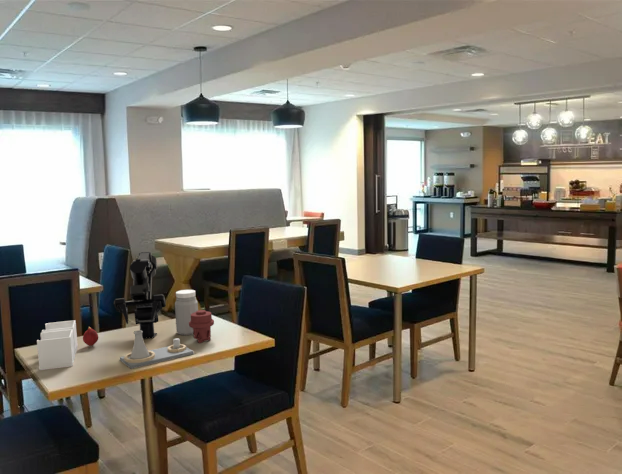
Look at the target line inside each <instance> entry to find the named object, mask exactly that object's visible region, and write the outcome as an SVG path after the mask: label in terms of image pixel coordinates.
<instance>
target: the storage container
mask: <svg viewBox="0 0 622 474" xmlns="http://www.w3.org/2000/svg"><path fill="white" fill-rule="evenodd" d="M44 325H45V329H42V330H41V332H40V340H39V339H37V340H36V346H37V355H38V356H37V359H38V367H39V368H38V369H39V371H44V370H51V369H52V370H53V369H60V368H68V367H73V366H74V362H75V358H76V354H77V350H78V347H79V345H78V334H77V323H76V319H75V320H64V321H56V322H48V323H44Z"/></svg>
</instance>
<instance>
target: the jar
mask: <svg viewBox="0 0 622 474" xmlns="http://www.w3.org/2000/svg"><path fill="white" fill-rule="evenodd" d="M196 294H197V293H196V290H194V289H180V290H177V291H176V292H175V297H176V298H175V299H176V300H175V302H174V309H175V310H174V312H175V313H174V314H175V329H176V333H177V334H178V335H180V336H193V328H191V327H190V326H189V322H190V321H191V314H192V313H194V312H196V311H198V310H199V304H198V303H199V302H198V300H197V297H196Z"/></svg>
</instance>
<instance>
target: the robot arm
mask: <svg viewBox="0 0 622 474" xmlns="http://www.w3.org/2000/svg"><path fill="white" fill-rule="evenodd" d="M157 260H158V259H157V258H156V257H155V255H152V251H140V252H139V253H138V257H137V258H136V259H133V260H132V262H131V263H130V266H129V271H130V274H131V278H132V280H133V282H132V283H133V284H132V285H130V286H129V287H130V288H129V291H130V292H129V293H130V298H131V299H132V300H127V301H126V298H125V297H122V298H115V299H114V301H113V306H114V309H115V311H116V312H118V313H120V314H122V315H123V317H124V320H125V323H126V325H128V324H129V311H128V307H136V309H134V322H135V325H139V330H142V331H143V333H142V337H143V340H144V339H154V338H155V337H156V336H157V335H158V333H157V332H155V325H154V324H156V323H157V322H159V314H158V313H159V312H160V310H162V309H163V308H166V305H167V303H166V298H165V295H164V294H163V293H161V294H160V293H159V294H154V295H152V285H153V283H152V282H153V278H154V277H155V276H156V274H157V270H158V262H157ZM152 297H153V298H152Z"/></svg>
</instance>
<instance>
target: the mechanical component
mask: <svg viewBox="0 0 622 474" xmlns="http://www.w3.org/2000/svg"><path fill="white" fill-rule="evenodd" d="M212 317H213V316H212V312H211V311H207V310H205V309H200V310H199V309H198V311H196V312H194V313H192V314H191V321H190V322H189V326H190V327H191V328H193V334H192V336H193V339H195V340H197V343H199V344H202V343H203V342H207V341H210V340H211V337H212V331H211V328H212V327H213V326H214V325H215V321H214V319H213V318H212Z"/></svg>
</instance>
